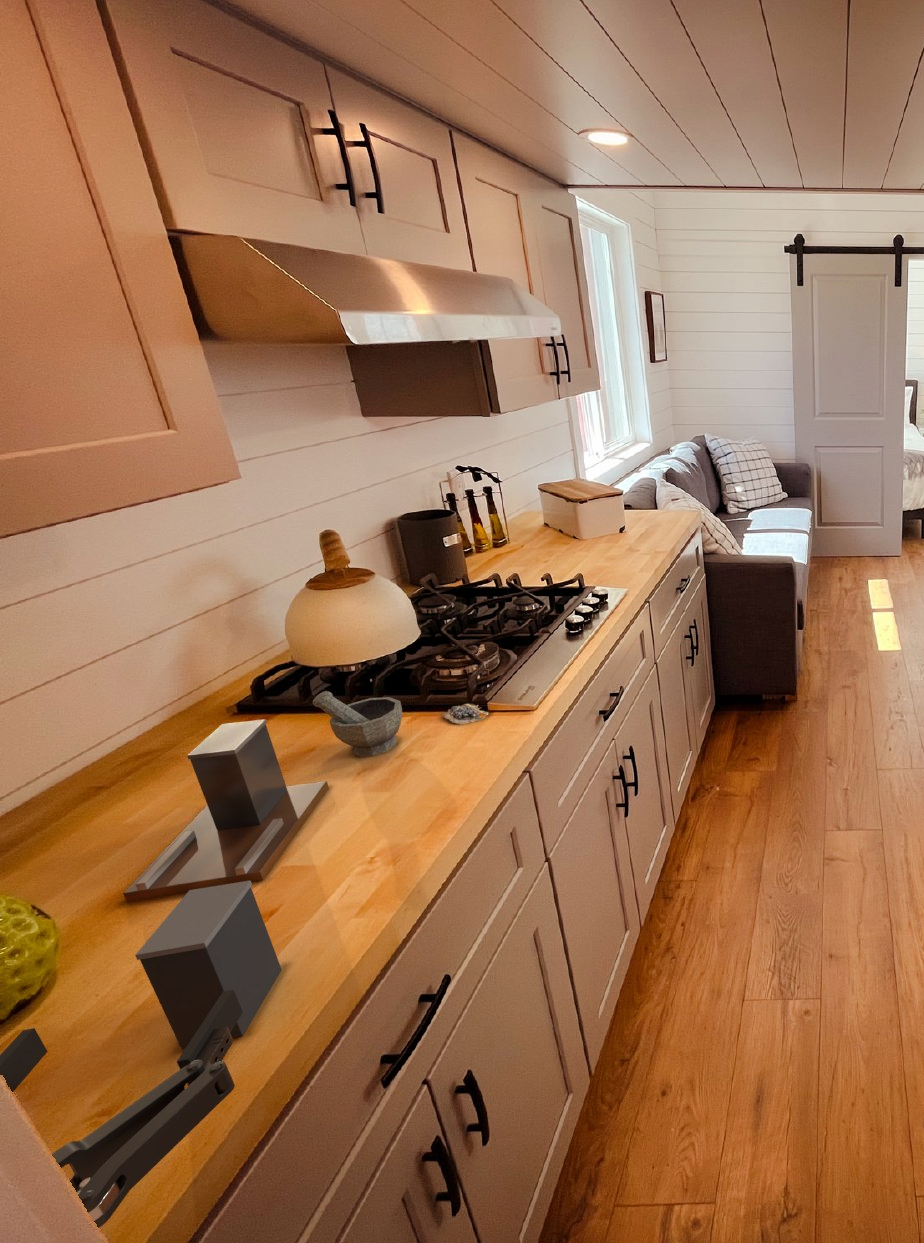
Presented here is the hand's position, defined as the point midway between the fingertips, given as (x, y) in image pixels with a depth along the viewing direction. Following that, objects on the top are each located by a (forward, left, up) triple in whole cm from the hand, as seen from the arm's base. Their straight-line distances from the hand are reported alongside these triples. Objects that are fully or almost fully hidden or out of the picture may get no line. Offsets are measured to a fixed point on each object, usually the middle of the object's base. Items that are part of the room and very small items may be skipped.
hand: (137, 1020), depth 58 cm
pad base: (-13, +40, -10) cm, 43 cm away
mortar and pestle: (-4, +61, -10) cm, 62 cm away
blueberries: (+9, +69, -10) cm, 70 cm away
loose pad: (0, +10, -10) cm, 14 cm away
